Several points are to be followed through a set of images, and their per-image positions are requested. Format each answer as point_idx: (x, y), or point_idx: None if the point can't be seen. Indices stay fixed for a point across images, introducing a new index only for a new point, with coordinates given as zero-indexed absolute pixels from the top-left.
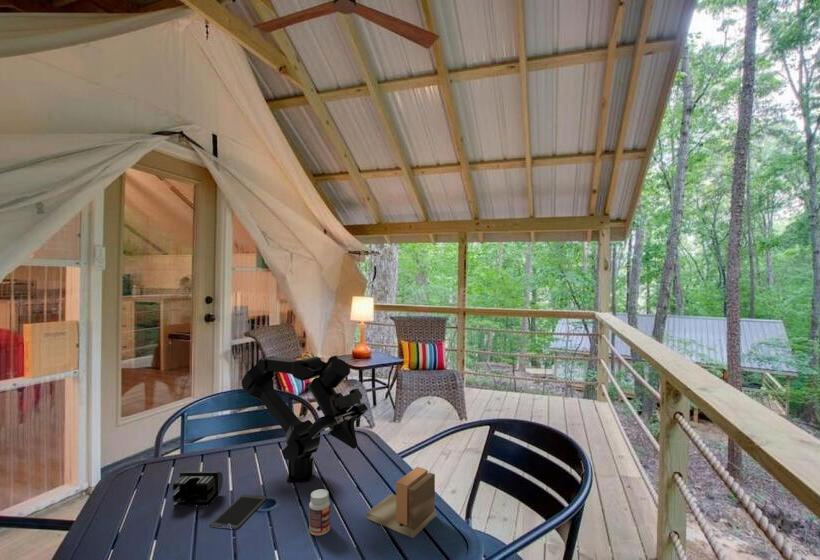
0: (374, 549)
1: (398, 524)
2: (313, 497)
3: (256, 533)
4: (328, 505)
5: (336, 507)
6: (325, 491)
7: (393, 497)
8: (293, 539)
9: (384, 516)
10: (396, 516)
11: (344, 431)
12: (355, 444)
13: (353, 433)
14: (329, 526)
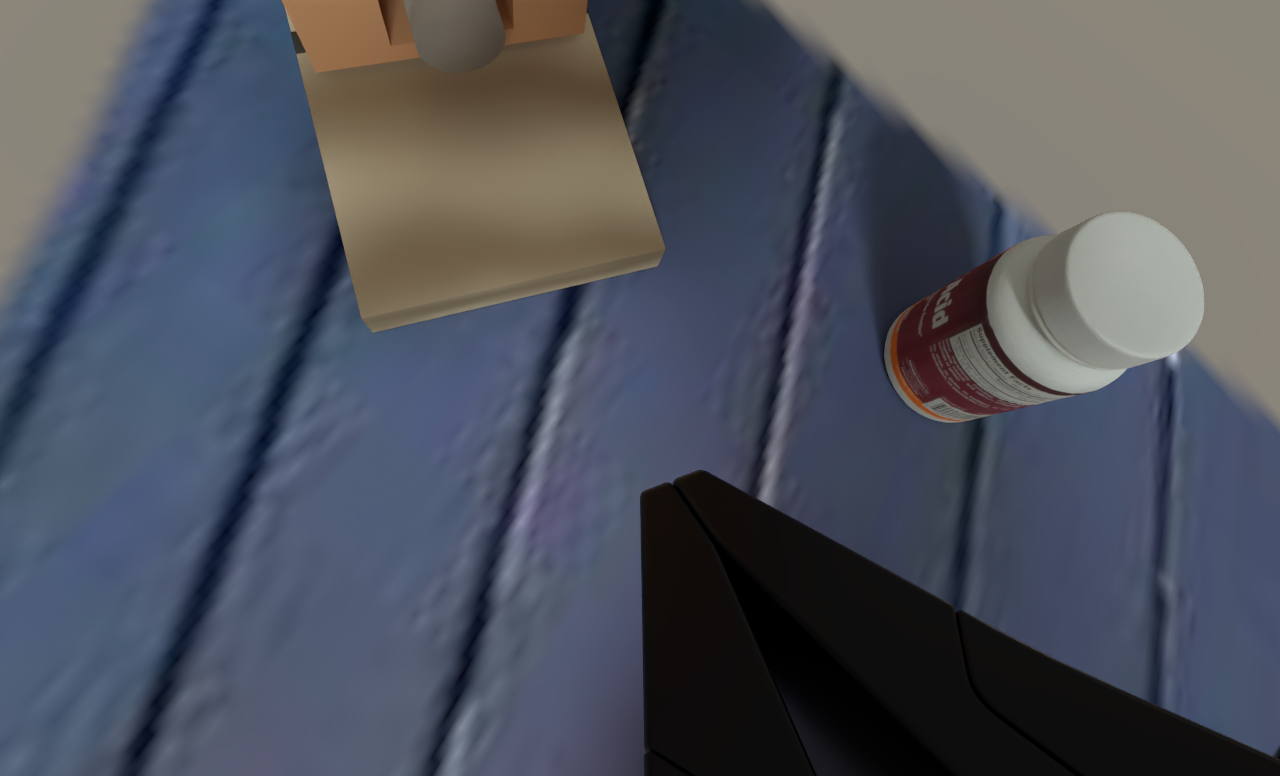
0: (770, 37)
1: None
2: (1194, 266)
3: (1239, 571)
4: (1021, 243)
5: None
6: (1085, 282)
7: (390, 264)
8: None
9: (600, 135)
10: (585, 6)
11: (1206, 765)
12: (709, 490)
13: (736, 714)
14: (911, 307)
